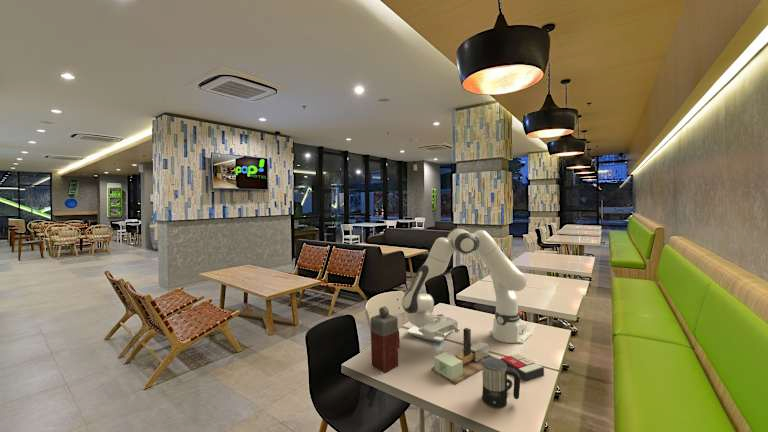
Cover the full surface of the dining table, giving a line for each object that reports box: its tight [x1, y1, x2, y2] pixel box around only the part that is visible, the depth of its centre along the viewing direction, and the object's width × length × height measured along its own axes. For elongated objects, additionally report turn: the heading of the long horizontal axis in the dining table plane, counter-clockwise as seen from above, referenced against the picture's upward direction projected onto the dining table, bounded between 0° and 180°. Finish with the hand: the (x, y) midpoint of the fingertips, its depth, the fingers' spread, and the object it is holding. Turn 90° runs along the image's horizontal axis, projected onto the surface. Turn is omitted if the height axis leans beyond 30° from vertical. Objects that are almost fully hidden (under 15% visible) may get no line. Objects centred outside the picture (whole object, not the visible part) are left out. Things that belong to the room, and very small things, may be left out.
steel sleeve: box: [471, 341, 491, 363], centre depth 156 cm, size 10×6×5 cm, turn 127°
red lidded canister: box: [370, 305, 401, 374], centre depth 151 cm, size 9×11×28 cm
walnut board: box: [431, 355, 496, 386], centre depth 151 cm, size 30×14×1 cm, turn 127°
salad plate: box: [406, 325, 453, 343], centre depth 185 cm, size 21×21×3 cm
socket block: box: [434, 351, 463, 380], centre depth 143 cm, size 7×10×6 cm
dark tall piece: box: [455, 327, 475, 364], centre depth 152 cm, size 18×3×14 cm, turn 126°
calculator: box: [500, 353, 545, 382], centre depth 146 cm, size 11×4×15 cm
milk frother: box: [481, 357, 521, 409], centre depth 128 cm, size 14×16×15 cm
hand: (452, 333), depth 158 cm, fingers open, 8 cm apart
